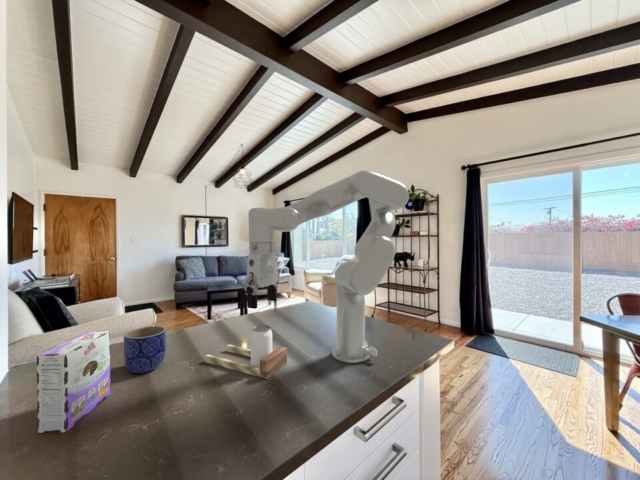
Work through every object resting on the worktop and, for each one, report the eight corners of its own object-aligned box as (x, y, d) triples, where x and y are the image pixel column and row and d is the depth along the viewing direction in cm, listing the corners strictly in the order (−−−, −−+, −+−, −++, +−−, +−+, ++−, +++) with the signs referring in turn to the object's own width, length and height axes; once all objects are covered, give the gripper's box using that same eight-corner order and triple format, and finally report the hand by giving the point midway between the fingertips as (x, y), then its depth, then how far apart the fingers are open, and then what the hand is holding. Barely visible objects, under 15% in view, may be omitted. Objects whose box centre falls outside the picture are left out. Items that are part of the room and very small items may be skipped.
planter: (174, 362, 89) (174, 327, 88) (144, 379, 78) (143, 340, 78) (147, 358, 92) (146, 324, 91) (114, 374, 81) (114, 336, 81)
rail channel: (286, 363, 88) (286, 347, 88) (266, 378, 79) (266, 361, 78) (228, 349, 98) (228, 335, 98) (205, 361, 89) (205, 346, 89)
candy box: (87, 395, 70) (86, 330, 70) (112, 394, 71) (111, 330, 71) (35, 434, 57) (34, 353, 56) (66, 432, 57) (65, 353, 57)
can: (269, 372, 82) (269, 332, 82) (247, 371, 83) (248, 331, 82) (274, 362, 89) (274, 325, 89) (254, 362, 89) (254, 324, 89)
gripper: (253, 250, 76) (254, 313, 76) (287, 247, 91) (288, 299, 92) (232, 250, 79) (233, 310, 79) (268, 246, 95) (269, 297, 95)
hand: (262, 304), depth 86 cm, fingers open, 9 cm apart
